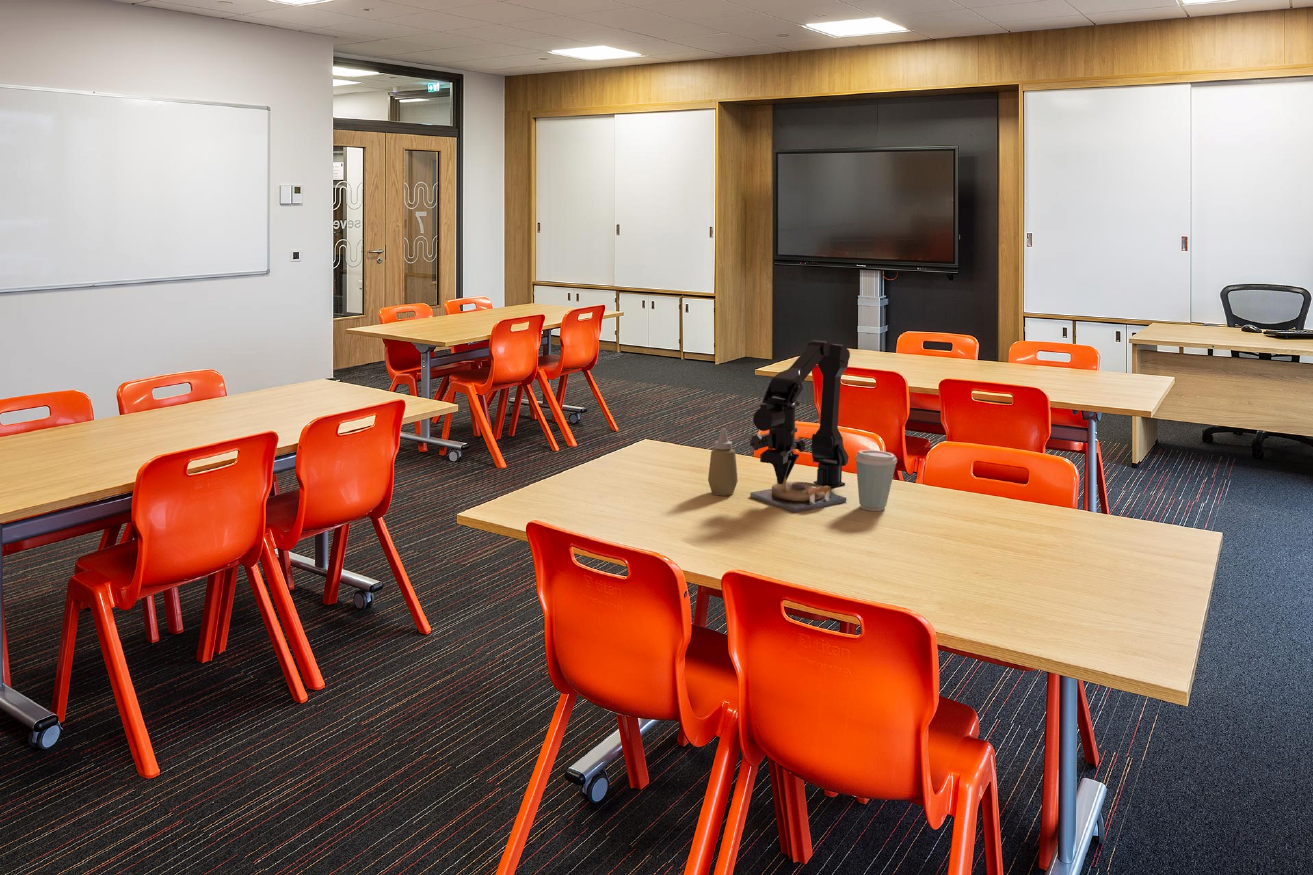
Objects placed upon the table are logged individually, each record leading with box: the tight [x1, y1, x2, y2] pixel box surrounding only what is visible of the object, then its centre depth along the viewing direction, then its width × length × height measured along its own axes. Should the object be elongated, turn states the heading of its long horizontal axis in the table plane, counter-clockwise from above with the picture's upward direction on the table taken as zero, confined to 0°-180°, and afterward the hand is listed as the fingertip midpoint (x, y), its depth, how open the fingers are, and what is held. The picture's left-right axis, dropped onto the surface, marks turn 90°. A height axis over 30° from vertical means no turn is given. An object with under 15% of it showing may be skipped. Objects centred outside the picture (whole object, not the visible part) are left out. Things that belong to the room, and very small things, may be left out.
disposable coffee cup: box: [854, 449, 898, 512], centre depth 264 cm, size 11×11×15 cm
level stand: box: [749, 486, 847, 513], centre depth 273 cm, size 18×18×5 cm
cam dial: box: [771, 477, 824, 501], centre depth 272 cm, size 14×14×8 cm
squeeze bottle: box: [707, 428, 739, 497], centre depth 277 cm, size 8×8×18 cm
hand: (782, 482), depth 269 cm, fingers closed on cam dial, 2 cm apart
